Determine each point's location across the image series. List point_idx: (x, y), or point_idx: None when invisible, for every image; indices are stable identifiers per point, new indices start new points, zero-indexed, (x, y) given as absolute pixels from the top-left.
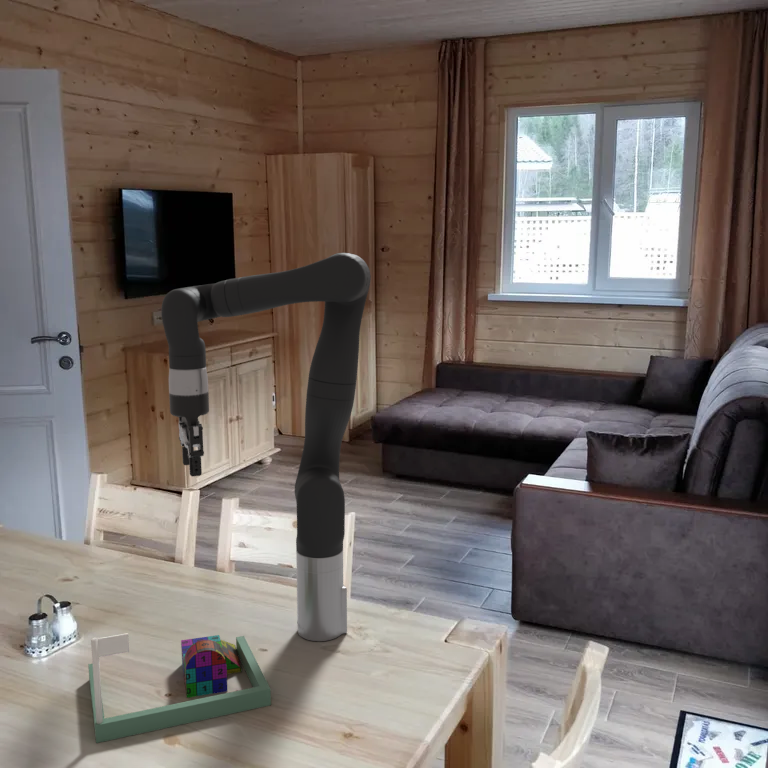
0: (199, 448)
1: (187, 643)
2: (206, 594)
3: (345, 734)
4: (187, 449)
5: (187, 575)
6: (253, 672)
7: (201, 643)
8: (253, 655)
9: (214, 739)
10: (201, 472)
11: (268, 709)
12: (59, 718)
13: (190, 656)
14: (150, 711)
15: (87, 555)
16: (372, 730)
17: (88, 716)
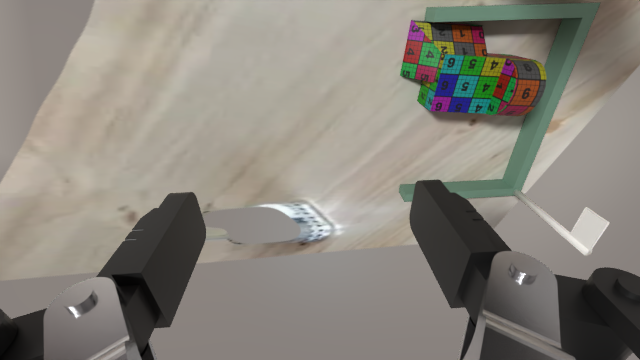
0: (552, 326)
1: (443, 103)
2: (208, 33)
3: None
4: (166, 291)
5: (118, 56)
6: (545, 17)
7: (518, 98)
8: (502, 5)
9: (584, 86)
10: (443, 184)
11: None
12: None
13: (522, 113)
14: (533, 150)
15: (36, 198)
16: None
17: None
